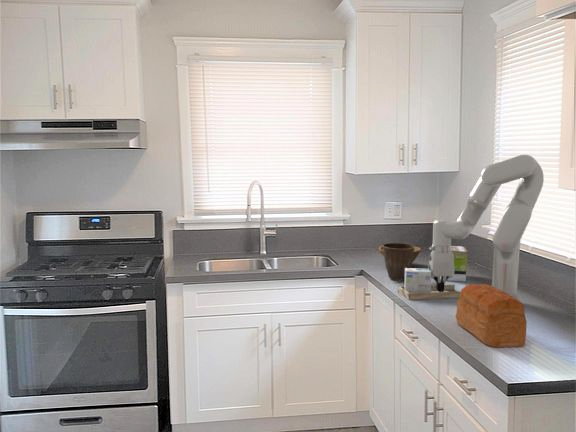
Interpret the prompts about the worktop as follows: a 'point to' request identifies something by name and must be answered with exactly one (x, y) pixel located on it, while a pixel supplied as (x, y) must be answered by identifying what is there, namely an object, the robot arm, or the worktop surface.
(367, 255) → the worktop surface
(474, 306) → the bread
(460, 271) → the tea box
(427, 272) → the light bulb box
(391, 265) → the plant pot
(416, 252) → the bowl
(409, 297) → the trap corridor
